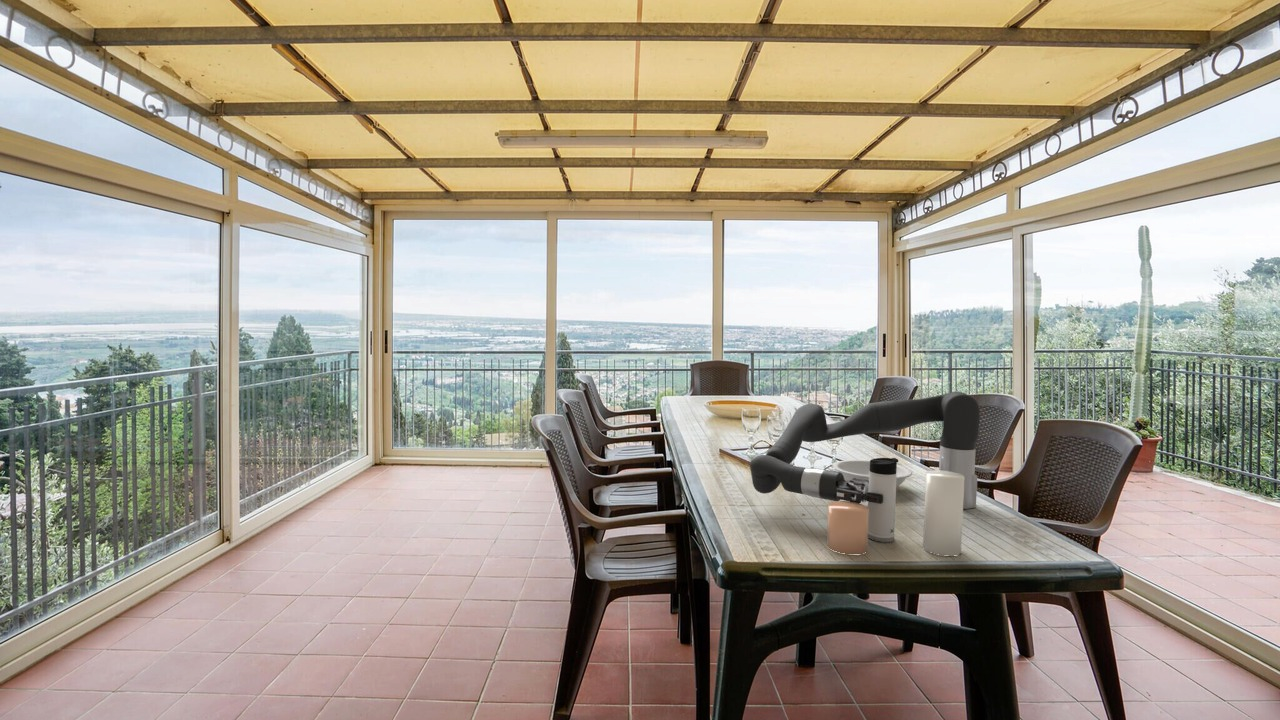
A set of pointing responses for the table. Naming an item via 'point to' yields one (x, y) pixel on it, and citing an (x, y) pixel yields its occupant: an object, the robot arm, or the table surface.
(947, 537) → the tall white cylinder
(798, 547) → the table surface
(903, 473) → the soup bowl
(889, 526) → the travel mug
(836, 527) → the peach rounded cylinder
